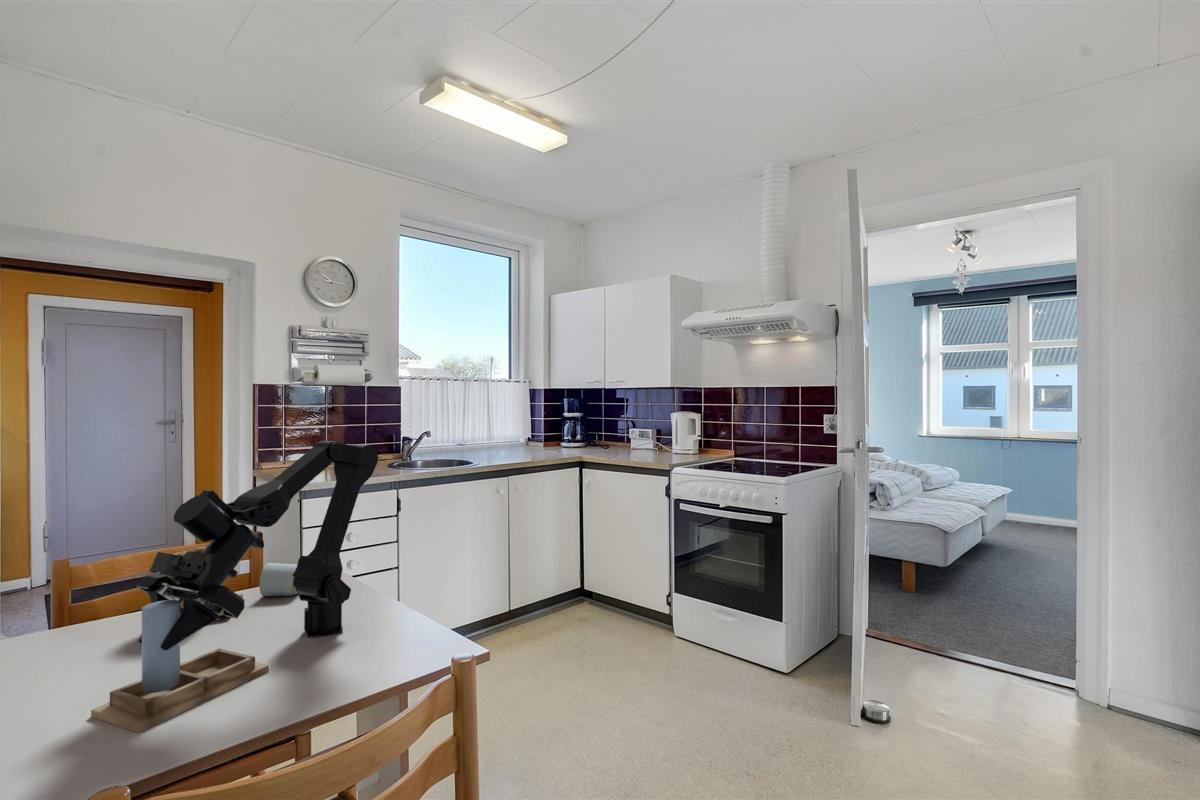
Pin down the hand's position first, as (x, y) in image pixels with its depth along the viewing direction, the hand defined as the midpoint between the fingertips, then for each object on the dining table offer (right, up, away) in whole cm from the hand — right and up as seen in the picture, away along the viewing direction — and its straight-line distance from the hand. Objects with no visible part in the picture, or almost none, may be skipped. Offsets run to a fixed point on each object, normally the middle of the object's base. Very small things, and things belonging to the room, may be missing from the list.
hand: (152, 646), depth 92 cm
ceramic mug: (-8, -9, +54) cm, 55 cm away
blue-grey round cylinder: (0, -7, +1) cm, 7 cm away
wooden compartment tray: (+2, -9, +5) cm, 11 cm away
